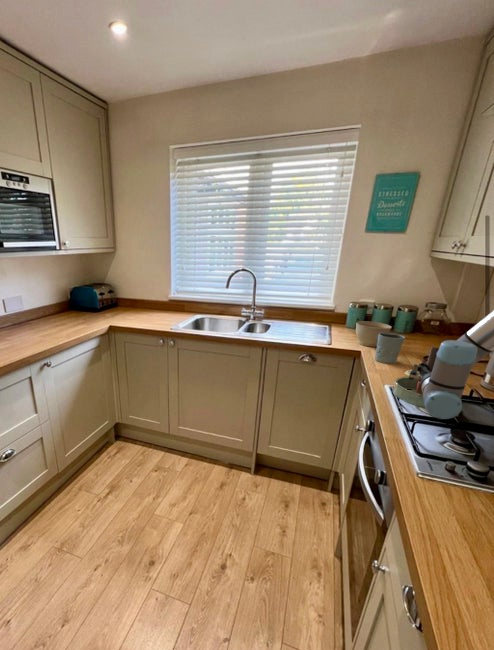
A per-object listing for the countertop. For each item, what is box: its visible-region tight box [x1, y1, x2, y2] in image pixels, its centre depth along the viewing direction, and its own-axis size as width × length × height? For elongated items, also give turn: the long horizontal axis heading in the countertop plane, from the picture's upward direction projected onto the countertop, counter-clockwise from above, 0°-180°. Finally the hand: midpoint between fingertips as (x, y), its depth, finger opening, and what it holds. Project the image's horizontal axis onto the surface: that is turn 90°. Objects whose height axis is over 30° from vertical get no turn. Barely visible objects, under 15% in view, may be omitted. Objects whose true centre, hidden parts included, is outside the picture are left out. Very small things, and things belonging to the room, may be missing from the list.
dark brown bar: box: [420, 346, 440, 391], centre depth 110 cm, size 3×3×15 cm
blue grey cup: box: [374, 332, 406, 365], centre depth 149 cm, size 10×10×12 cm
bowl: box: [392, 376, 426, 409], centre depth 112 cm, size 18×18×4 cm
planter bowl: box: [355, 320, 392, 348], centre depth 174 cm, size 16×16×11 cm
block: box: [415, 381, 423, 395], centre depth 115 cm, size 4×4×4 cm
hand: (429, 364), depth 115 cm, fingers closed on dark brown bar, 3 cm apart
